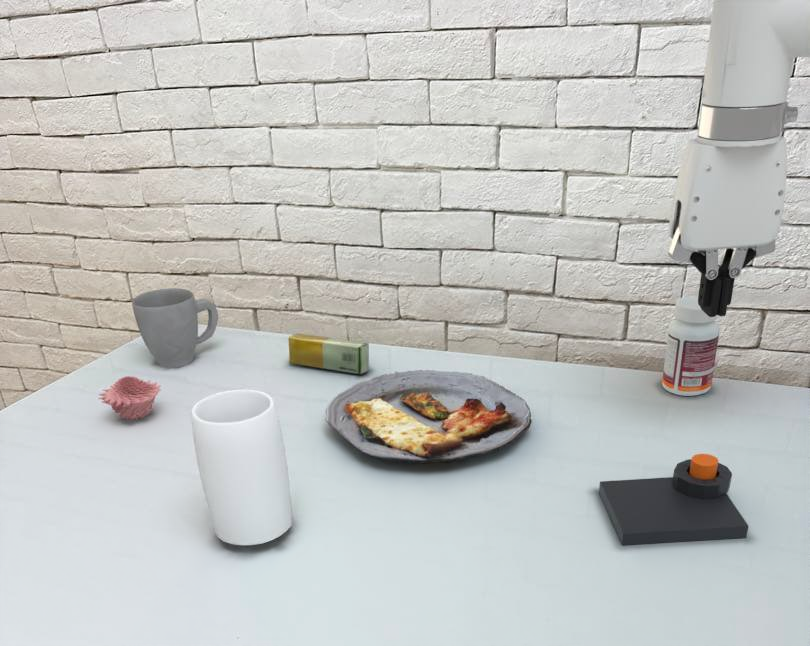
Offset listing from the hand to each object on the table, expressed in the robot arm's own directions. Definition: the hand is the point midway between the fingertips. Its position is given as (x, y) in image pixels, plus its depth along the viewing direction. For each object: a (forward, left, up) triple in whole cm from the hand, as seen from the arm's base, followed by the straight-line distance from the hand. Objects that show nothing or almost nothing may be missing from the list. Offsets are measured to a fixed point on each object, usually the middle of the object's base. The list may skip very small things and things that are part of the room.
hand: (712, 312), depth 91 cm
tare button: (+4, +13, -12) cm, 18 cm away
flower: (+69, -15, -15) cm, 72 cm away
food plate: (+31, -7, -15) cm, 35 cm away
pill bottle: (-3, -14, -15) cm, 21 cm away
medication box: (+44, -28, -15) cm, 54 cm away
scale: (+8, +16, -15) cm, 23 cm away
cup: (+50, +15, -15) cm, 54 cm away
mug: (+66, -35, -15) cm, 76 cm away
